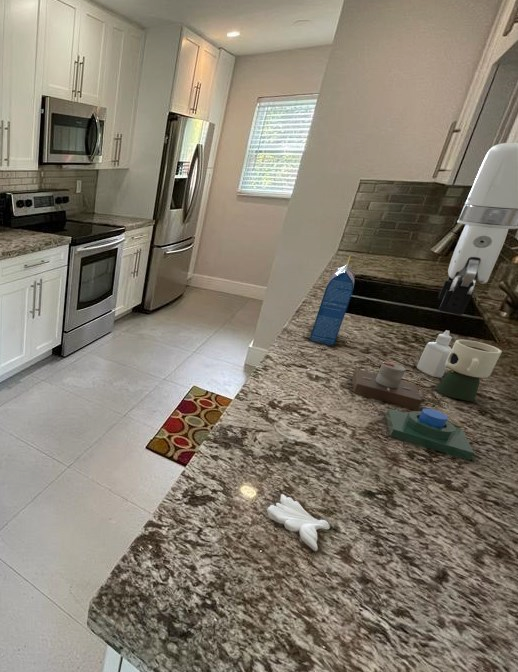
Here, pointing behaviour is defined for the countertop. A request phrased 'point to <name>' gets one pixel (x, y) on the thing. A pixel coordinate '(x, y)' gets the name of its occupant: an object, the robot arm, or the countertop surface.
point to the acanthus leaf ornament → (297, 520)
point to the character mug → (467, 368)
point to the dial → (390, 374)
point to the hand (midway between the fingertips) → (449, 306)
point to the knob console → (386, 390)
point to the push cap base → (428, 434)
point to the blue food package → (333, 306)
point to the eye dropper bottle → (435, 356)
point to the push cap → (433, 418)
